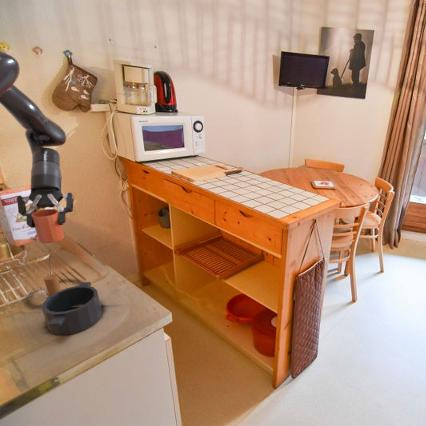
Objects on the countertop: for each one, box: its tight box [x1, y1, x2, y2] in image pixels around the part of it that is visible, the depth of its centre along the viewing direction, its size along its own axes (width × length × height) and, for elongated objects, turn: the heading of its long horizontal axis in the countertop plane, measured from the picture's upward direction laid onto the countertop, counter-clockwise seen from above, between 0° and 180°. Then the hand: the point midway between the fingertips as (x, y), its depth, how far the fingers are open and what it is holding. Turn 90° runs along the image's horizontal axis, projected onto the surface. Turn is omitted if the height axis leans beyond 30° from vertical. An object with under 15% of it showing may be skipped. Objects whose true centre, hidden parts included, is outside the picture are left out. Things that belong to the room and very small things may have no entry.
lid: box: [43, 273, 62, 297], centre depth 92 cm, size 13×13×7 cm
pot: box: [41, 281, 103, 337], centre depth 85 cm, size 12×17×7 cm
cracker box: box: [0, 184, 54, 248], centre depth 117 cm, size 14×6×21 cm, turn 154°
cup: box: [31, 208, 65, 244], centre depth 100 cm, size 6×6×9 cm
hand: (46, 225), depth 99 cm, fingers closed on cup, 6 cm apart
